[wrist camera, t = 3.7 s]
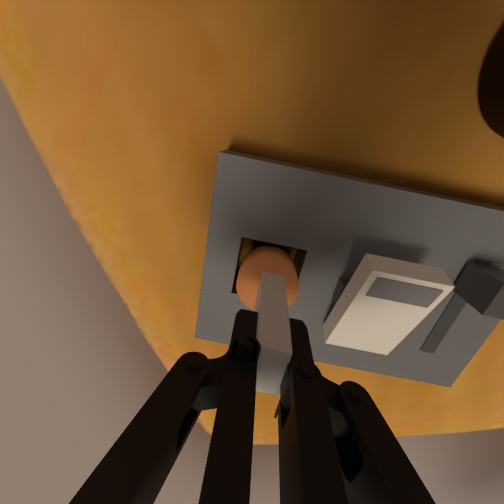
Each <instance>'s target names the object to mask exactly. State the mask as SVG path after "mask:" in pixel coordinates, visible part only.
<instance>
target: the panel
mask: <svg viewBox="0 0 504 504" xmlns="http://www.w3.org/2000/svg"><path fill="white" fill-rule="evenodd" d="M243 238H248V239H253V240H258V241H263V242H268V243H273V244H278V245H283V246H288V247H293V248H297V250H296V253H295V256H294V260H293V261H294V264H295V268H296V273H297V278H298V282H299V291H298V295H297V297H296V299H295V301H294V302H293V303H292V304H291V305H290V306H289V307H288V313H289V318H293V319H298V320H303V322H304V323H305V325H306V326H307V329H308V334H309V335H308V336H309V339H310V345H311V350H312V355H313V360H314V361H317V362H322V363H328V364H333V365H338V366H343V367H348V368H353V369H359V370H364V371H369V372H374V373H379V374H384V375H390V376H395V377H400V378H405V379H410V380H415V381H421V382H426V383H431V384H436V385H441V386H446V387H451V385H452V384H453V383H454V381H455V380H456V379H457V377H458V376H459V375H460V373H461V372H462V371H463V369H464V368H465V367H466V365H467V364H468V363H469V361H470V360H471V359H472V357H473V356H474V355H475V353H476V352H477V351H478V349H479V348H480V347H481V345H482V344H483V343H484V341H485V340H486V339H487V337H488V336H489V335H490V333H491V332H492V331H493V329H494V328H495V327H496V325H497V324H498V323H499V321H500V320H501V319H499V318H494V317H489V316H484V315H482V314H480V313H479V312H478V311H477V310H476V309H474V308H473V307H472V306H471V305H470V304H468V303H467V302H466V301H465V300H463V299H462V298H461V297H460V296H459V295H457V294H456V293H455V292H454V291H453V290H452V291H451V292H450V293H449V294H448V295H447V296H446V297H445V298H444V299H443V300H442V301H441V302H440V303H439V304H438V305H437V306H436V307H435V308H434V309H433V310H432V311H431V312H430V313H429V314H428V315H427V316H426V317H425V318H424V319H423V320H422V321H421V322H420V323H419V324H418V325H417V326H416V327H415V328H414V329H413V330H412V331H411V332H410V333H409V334H408V335H407V336H406V337H405V338H404V339H403V340H402V341H401V342H400V343H399V344H398V345H397V346H396V347H395V348H394V349H393V350H392V351H391V352H390V353H389V354H388V355H383V354H378V353H373V352H368V351H363V350H358V349H353V348H347V347H342V346H337V345H332V344H327V343H325V338H324V331H323V325H324V323H325V321H326V320H327V318H328V316H329V315H330V313H331V311H332V310H333V308H334V306H335V305H336V303H337V301H338V300H339V298H340V296H341V295H342V293H343V291H344V289H345V288H346V286H347V284H348V283H349V281H350V279H351V278H352V276H353V274H354V273H355V271H356V269H357V268H358V266H359V264H360V263H361V261H362V259H363V257H364V256H365V254H366V253H368V254H373V255H378V256H383V257H388V258H393V259H397V260H402V261H407V262H412V263H417V264H422V265H427V266H432V267H437V268H442V269H443V270H444V272H445V273H446V274H447V276H448V277H449V279H450V280H451V282H452V283H453V284H454V286H455V284H456V283H457V281H458V279H459V278H460V276H461V274H462V273H463V271H464V270H465V268H466V266H467V265H468V263H469V262H471V263H476V264H481V265H486V266H491V267H496V268H501V269H503V270H504V207H500V206H495V205H490V204H486V203H481V202H476V201H471V200H466V199H462V198H457V197H452V196H447V195H443V194H438V193H433V192H428V191H423V190H419V189H414V188H409V187H404V186H399V185H395V184H390V183H385V182H380V181H375V180H371V179H366V178H361V177H356V176H352V175H347V174H342V173H337V172H332V171H328V170H323V169H318V168H313V167H308V166H304V165H299V164H294V163H289V162H284V161H280V160H275V159H270V158H265V157H261V156H256V155H251V154H246V153H241V152H237V151H232V150H224V151H220V152H218V159H217V167H216V175H215V182H214V190H213V198H212V206H211V214H210V222H209V230H208V238H207V246H206V253H205V261H204V269H203V277H202V285H201V293H200V301H199V309H198V317H197V324H196V332H195V338H198V339H203V340H209V341H214V342H219V343H224V344H229V345H230V341H231V336H232V331H233V326H234V321H235V316H236V313H237V312H238V311H239V310H240V309H245V310H250V311H254V310H252V309H250V308H248V307H247V306H246V305H245V304H244V303H243V302H242V301H241V300H240V298H239V296H238V294H237V290H236V283H237V278H238V273H239V270H237V267H238V262H239V257H240V251H241V246H242V241H243Z"/></svg>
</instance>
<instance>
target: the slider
mask: <svg viewBox="0 0 504 504" xmlns="http://www.w3.org/2000/svg"><path fill="white" fill-rule="evenodd" d="M453 291H454V292H455V293H456V294H457V295H459V296H460V297H461V298H462V299H463V300H465V301H466V302H467V303H468V304H470V305H471V306H472V307H473V308H474V309H476V310H477V311H478V312H479V313H480V314H482V315H484V316H489V317H494V318H499V319H504V270H503V269H501V268H496V267H491V266H486V265H481V264H476V263H471V262H469V263H468V265H467V266H466V268H465V270H464V271H463V273H462V274H461V276H460V278H459V279H458V281H457V283H456V284H455V288H454V289H453Z"/></svg>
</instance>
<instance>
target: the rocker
mask: <svg viewBox="0 0 504 504" xmlns="http://www.w3.org/2000/svg"><path fill="white" fill-rule="evenodd" d="M454 288H455V286H454V284H453V283H452V282H451V280H450V279H449V277H448V276H447V274H446V273H445V272H444V270H443V269H442V268H437V267H432V266H427V265H422V264H417V263H412V262H407V261H402V260H397V259H393V258H388V257H383V256H378V255H373V254H368V253H366V254H365V256H364V257H363V259H362V261H361V263H360V264H359V266H358V268H357V269H356V271H355V273H354V274H353V276H352V278H351V279H350V281H349V283H348V284H347V286H346V288H345V289H344V291H343V293H342V295H341V296H340V298H339V300H338V301H337V303H336V305H335V306H334V308H333V310H332V311H331V313H330V315H329V316H328V318H327V320H326V321H325V323H324V325H323V331H324V338H325V343H327V344H332V345H337V346H342V347H347V348H353V349H358V350H363V351H368V352H373V353H378V354H383V355H388V354H389V353H390V352H391V351H392V350H393V349H394V348H395V347H396V346H397V345H398V344H399V343H400V342H401V341H402V340H403V339H404V338H405V337H406V336H407V335H408V334H409V333H410V332H411V331H412V330H413V329H414V328H415V327H416V326H417V325H418V324H419V323H420V322H421V321H422V320H423V319H424V318H425V317H426V316H427V315H428V314H429V313H430V312H431V311H432V310H433V309H434V308H435V307H436V306H437V305H438V304H439V303H440V302H441V301H442V300H443V299H444V298H445V297H446V296H447V295H448V294H449V293H450V292H451V291H452V290H453V289H454Z"/></svg>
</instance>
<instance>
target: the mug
mask: <svg viewBox="0 0 504 504" xmlns="http://www.w3.org/2000/svg"><path fill="white" fill-rule="evenodd" d="M480 104H481V109H482V112H483V114H484V117H485V119H486V121H487V122H488V124H489V125H490V126H491V127H492V128H493V129H494V130H495V131H496V132H497V133H498V134H500V135H501V136H503V137H504V28H503V29H502V30H501V32H500V33H499V35H498V36H497V38H496V40H495V42H494V44H493V45H492V47H491V49H490V51H489V54H488V56H487V58H486V61H485V64H484V67H483V71H482V74H481V81H480Z"/></svg>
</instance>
